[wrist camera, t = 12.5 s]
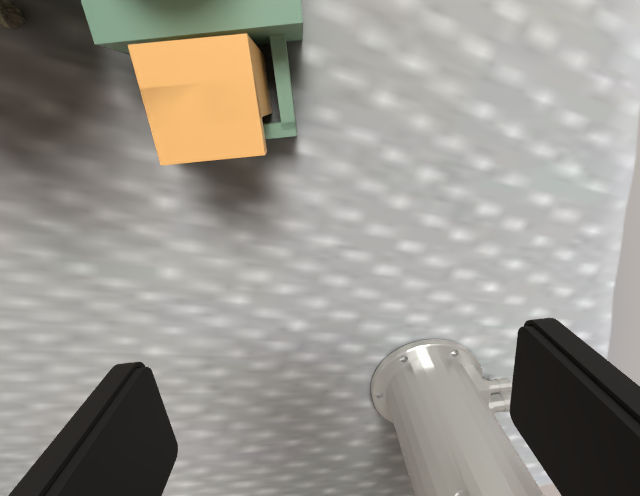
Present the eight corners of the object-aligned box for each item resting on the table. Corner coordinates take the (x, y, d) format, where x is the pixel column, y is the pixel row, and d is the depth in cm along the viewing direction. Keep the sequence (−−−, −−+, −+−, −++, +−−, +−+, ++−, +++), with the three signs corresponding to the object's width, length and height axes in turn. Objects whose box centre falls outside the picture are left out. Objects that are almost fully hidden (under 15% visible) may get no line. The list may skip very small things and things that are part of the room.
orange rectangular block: (264, 55, 25) (246, 33, 17) (275, 139, 28) (265, 155, 19) (184, 63, 25) (127, 44, 17) (202, 146, 28) (160, 165, 19)
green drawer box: (283, -147, 21) (270, -340, 12) (311, 130, 28) (317, 145, 18) (89, -128, 21) (-75, -307, 12) (164, 146, 27) (96, 169, 18)
